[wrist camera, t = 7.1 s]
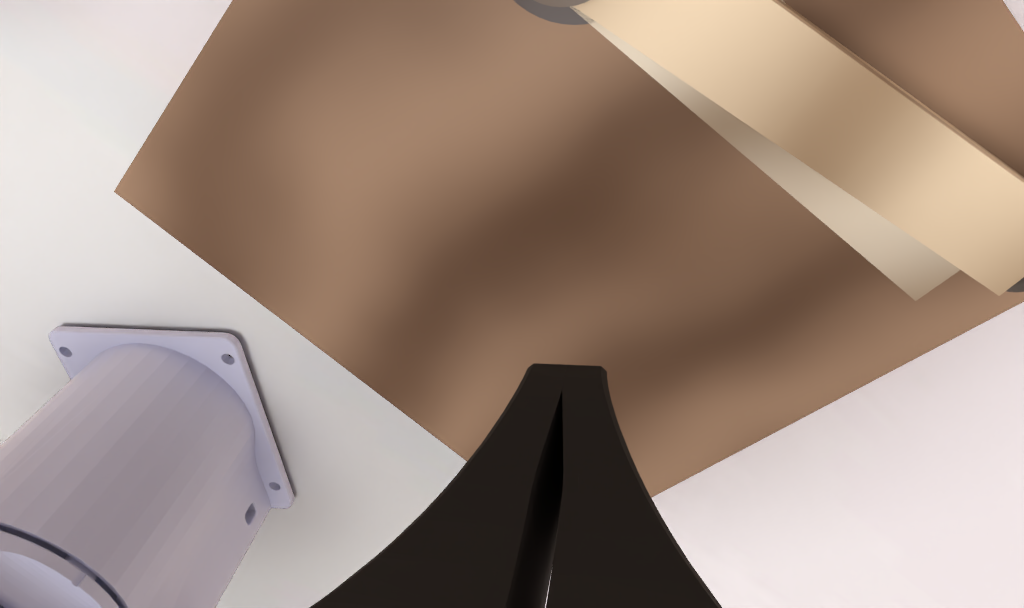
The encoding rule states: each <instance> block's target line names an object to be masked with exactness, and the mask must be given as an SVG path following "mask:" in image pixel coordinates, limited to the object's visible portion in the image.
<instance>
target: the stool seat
mask: <svg viewBox="0 0 1024 608" xmlns="http://www.w3.org/2000/svg"><path fill="white" fill-rule="evenodd" d="M782 1H783V2H784V3H786V4H787V5H788V6H790V7H791V8H793V9H794V10H795V11H797V12H798V13H799V14H801V15H802V16H803V17H805V18H806V19H808V20H809V21H810V22H812V23H813V24H814V25H816V26H817V27H819V28H820V29H821V30H823V31H824V32H825V33H827V34H828V35H830V36H831V37H832V38H834V39H835V40H836V41H838V42H839V43H841V44H842V45H843V46H845V47H846V48H847V49H849V50H850V51H852V52H853V53H854V54H856V55H857V56H858V57H860V58H861V59H862V60H864V61H865V62H867V63H868V64H869V65H871V66H872V67H873V68H875V69H876V70H878V71H879V72H880V73H882V74H883V75H884V76H886V77H887V78H889V79H890V80H891V81H893V82H894V83H895V84H897V85H898V86H900V87H901V88H902V89H904V90H905V91H906V92H908V93H909V94H911V95H912V96H913V97H915V98H916V99H917V100H919V101H920V102H921V103H923V104H924V105H926V106H927V107H928V108H930V109H931V110H932V111H934V112H935V113H937V114H938V115H939V116H941V117H942V118H943V119H945V120H946V121H948V122H949V123H950V124H952V125H953V126H954V127H956V128H957V129H959V130H960V131H961V132H963V133H964V134H965V135H967V136H968V137H970V138H971V139H972V140H974V141H975V142H976V143H978V144H979V145H981V146H982V147H983V148H985V149H986V150H987V151H989V152H990V153H991V154H993V155H994V156H996V157H997V158H998V159H1000V160H1001V161H1002V162H1004V163H1005V164H1007V165H1008V166H1009V167H1011V168H1012V169H1013V170H1015V171H1016V172H1018V173H1019V174H1020V175H1022V176H1023V177H1024V32H1023V30H1022V29H1021V27H1020V26H1019V24H1018V23H1017V21H1016V20H1015V18H1014V17H1013V15H1012V14H1011V12H1010V11H1009V9H1008V8H1007V6H1006V5H1005V3H1004V2H1003V0H782ZM114 192H115V193H116V194H118V195H119V196H120V197H122V198H123V199H124V200H126V201H127V202H128V203H130V204H131V205H132V206H134V207H135V208H136V209H137V210H139V211H140V212H141V213H143V214H144V215H145V216H147V217H148V218H149V219H151V220H152V221H153V222H154V223H156V224H157V225H158V226H160V227H161V228H162V229H164V230H165V231H166V232H168V233H169V234H170V235H171V236H173V237H174V238H175V239H177V240H178V241H179V242H181V243H182V244H183V245H185V246H186V247H187V248H188V249H190V250H191V251H192V252H194V253H195V254H196V255H198V256H199V257H200V258H202V259H203V260H204V261H206V262H207V263H208V264H209V265H211V266H212V267H213V268H215V269H216V270H217V271H219V272H220V273H221V274H223V275H224V276H225V277H226V278H228V279H229V280H230V281H232V282H233V283H234V284H236V285H237V286H238V287H240V288H241V289H242V290H243V291H245V292H246V293H247V294H249V295H250V296H251V297H253V298H254V299H255V300H257V301H258V302H259V303H260V304H262V305H263V306H264V307H266V308H267V309H268V310H270V311H271V312H272V313H274V314H275V315H276V316H278V317H279V318H280V319H281V320H283V321H284V322H285V323H287V324H288V325H289V326H291V327H292V328H293V329H295V330H296V331H297V332H298V333H300V334H301V335H302V336H304V337H305V338H306V339H308V340H309V341H310V342H312V343H313V344H314V345H315V346H317V347H318V348H319V349H321V350H322V351H323V352H325V353H326V354H327V355H329V356H330V357H331V358H332V359H334V360H335V361H336V362H338V363H339V364H340V365H342V366H343V367H344V368H346V369H347V370H348V371H350V372H351V373H352V374H353V375H355V376H356V377H357V378H359V379H360V380H361V381H363V382H364V383H365V384H367V385H368V386H369V387H370V388H372V389H373V390H374V391H376V392H377V393H378V394H380V395H381V396H382V397H384V398H385V399H386V400H387V401H389V402H390V403H391V404H393V405H394V406H395V407H397V408H398V409H399V410H401V411H402V412H403V413H404V414H406V415H407V416H408V417H410V418H411V419H412V420H414V421H415V422H416V423H418V424H419V425H420V426H422V427H423V428H424V429H425V430H427V431H428V432H429V433H431V434H432V435H433V436H435V437H436V438H437V439H439V440H440V441H441V442H442V443H444V444H445V445H446V446H448V447H449V448H450V449H452V450H453V451H454V452H456V453H457V454H458V455H459V456H461V457H462V458H463V459H465V460H466V461H468V460H469V459H470V458H471V456H472V455H473V454H474V452H475V451H476V450H477V449H478V447H479V446H480V445H481V443H482V442H483V441H484V439H485V438H486V436H487V435H488V433H489V432H490V430H491V429H492V428H493V426H494V425H495V423H496V422H497V420H498V419H499V417H500V416H501V414H502V413H503V411H504V410H505V408H506V406H507V405H508V403H509V402H510V400H511V398H512V397H513V395H514V393H515V392H516V390H517V388H518V386H519V384H520V382H521V381H522V379H523V377H524V375H525V373H526V370H527V368H528V367H530V366H531V365H532V364H533V363H539V364H564V365H589V366H602V367H603V368H604V369H605V370H606V371H607V381H608V388H609V393H610V397H611V401H612V404H613V408H614V411H615V414H616V418H617V421H618V424H619V426H620V429H621V432H622V434H623V437H624V439H625V442H626V444H627V447H628V450H629V452H630V455H631V457H632V459H633V461H634V464H635V466H636V468H637V470H638V472H639V474H640V477H641V479H642V481H643V483H644V485H645V487H646V489H647V491H648V493H649V495H650V497H653V496H655V495H657V494H659V493H661V492H663V491H665V490H666V489H668V488H670V487H672V486H674V485H676V484H678V483H680V482H682V481H684V480H685V479H687V478H689V477H691V476H693V475H695V474H697V473H699V472H701V471H703V470H704V469H706V468H708V467H710V466H712V465H714V464H716V463H718V462H720V461H722V460H723V459H725V458H727V457H729V456H731V455H733V454H735V453H737V452H739V451H741V450H742V449H744V448H746V447H748V446H750V445H752V444H754V443H756V442H758V441H760V440H761V439H763V438H765V437H767V436H769V435H771V434H773V433H775V432H777V431H779V430H780V429H782V428H784V427H786V426H788V425H790V424H792V423H794V422H796V421H798V420H799V419H801V418H803V417H805V416H807V415H809V414H811V413H813V412H815V411H817V410H818V409H820V408H822V407H824V406H826V405H828V404H830V403H832V402H834V401H836V400H838V399H839V398H841V397H843V396H845V395H847V394H849V393H851V392H853V391H855V390H857V389H858V388H860V387H862V386H864V385H866V384H868V383H870V382H872V381H874V380H876V379H877V378H879V377H881V376H883V375H885V374H887V373H889V372H891V371H893V370H895V369H896V368H898V367H900V366H902V365H904V364H906V363H908V362H910V361H912V360H914V359H915V358H917V357H919V356H921V355H923V354H925V353H927V352H929V351H931V350H933V349H934V348H936V347H938V346H940V345H942V344H944V343H946V342H948V341H950V340H952V339H953V338H955V337H957V336H959V335H961V334H963V333H965V332H967V331H969V330H971V329H972V328H974V327H976V326H978V325H980V324H982V323H984V322H986V321H988V320H990V319H991V318H993V317H995V316H997V315H999V314H1001V313H1003V312H1005V311H1007V310H1009V309H1010V308H1012V307H1014V306H1016V305H1018V304H1020V303H1022V302H1024V292H1007V291H1005V292H1004V293H1003V294H1001V295H1000V296H998V295H997V294H995V293H994V292H993V291H991V290H990V289H988V288H987V287H985V286H984V285H982V284H981V283H979V282H978V281H976V280H975V279H973V278H972V277H970V276H969V275H968V274H966V273H965V272H963V271H962V270H960V269H959V268H957V267H956V266H954V265H953V264H951V263H950V262H948V261H947V260H945V259H944V258H943V257H941V256H940V255H938V254H937V253H935V252H934V251H932V250H931V249H929V248H928V247H926V246H925V245H923V244H922V243H920V242H919V241H918V240H916V239H915V238H913V237H912V236H910V235H909V234H907V233H906V232H904V231H903V230H901V229H900V228H898V227H897V226H896V225H894V224H893V223H891V222H890V221H888V220H887V219H885V218H884V217H882V216H881V215H879V214H878V213H876V212H875V211H873V210H872V209H871V208H869V207H868V206H866V205H865V204H863V203H862V202H860V201H859V200H857V199H856V198H854V197H853V196H851V195H850V194H848V193H847V192H846V191H844V190H843V189H841V188H840V187H838V186H837V185H835V184H834V183H832V182H831V181H829V180H828V179H826V178H825V177H823V176H822V175H821V174H819V173H818V172H816V171H815V170H813V169H812V168H810V167H809V166H807V165H806V164H804V163H803V162H801V161H800V160H799V159H797V158H796V157H794V156H793V155H791V154H790V153H788V152H787V151H785V150H784V149H782V148H781V147H779V146H778V145H776V144H775V143H774V142H772V141H771V140H769V139H768V138H766V137H765V136H763V135H762V134H760V133H759V132H757V131H756V130H754V129H753V128H751V127H750V126H749V125H747V124H746V123H744V122H743V121H741V120H740V119H738V118H737V117H735V116H734V115H732V114H731V113H729V112H728V111H726V110H725V109H724V108H722V107H721V106H719V105H718V104H716V103H715V102H713V101H712V100H710V99H709V98H707V97H706V96H704V95H703V94H701V93H700V92H699V91H697V90H696V89H694V88H693V87H691V86H690V85H688V84H687V83H685V82H684V81H682V80H681V79H679V78H678V77H677V76H675V75H674V74H672V73H671V72H669V71H668V70H666V69H665V68H663V67H662V66H660V65H659V64H657V63H656V62H654V61H653V60H652V59H650V58H649V57H647V56H646V55H644V54H643V53H641V52H640V51H638V50H637V49H635V48H634V47H632V46H631V45H629V44H628V43H627V42H625V41H624V40H622V39H621V38H619V37H618V36H616V35H615V34H613V33H612V32H610V31H609V30H607V29H606V28H604V27H603V26H602V25H600V24H599V23H597V22H596V21H594V20H593V19H591V18H590V17H588V16H587V15H585V14H584V13H582V12H581V11H579V10H578V9H577V8H575V7H574V6H570V7H553V6H548V5H544V4H541V3H538V2H536V1H534V0H233V1H232V2H231V4H230V5H229V7H228V9H227V10H226V12H225V14H224V15H223V17H222V18H221V20H220V22H219V23H218V25H217V26H216V28H215V30H214V31H213V33H212V34H211V36H210V38H209V39H208V41H207V43H206V44H205V46H204V47H203V49H202V51H201V52H200V54H199V55H198V57H197V59H196V60H195V62H194V63H193V65H192V67H191V68H190V70H189V72H188V73H187V75H186V76H185V78H184V80H183V81H182V83H181V84H180V86H179V88H178V89H177V91H176V93H175V94H174V96H173V97H172V99H171V101H170V102H169V104H168V105H167V107H166V109H165V110H164V112H163V113H162V115H161V117H160V118H159V120H158V122H157V123H156V125H155V126H154V128H153V130H152V131H151V133H150V134H149V136H148V138H147V139H146V141H145V142H144V144H143V146H142V147H141V149H140V151H139V152H138V154H137V155H136V157H135V159H134V160H133V162H132V163H131V165H130V167H129V168H128V170H127V171H126V173H125V175H124V176H123V178H122V180H121V181H120V183H119V184H118V186H117V188H116V189H115V191H114Z"/></svg>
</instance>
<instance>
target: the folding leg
mask: <svg viewBox="0 0 1024 608" xmlns="http://www.w3.org/2000/svg"><path fill="white" fill-rule="evenodd" d="M534 1H536V2H538V3H541V4H544V5H548V6H553V7H570V6H574V7H575V8H577V9H578V10H579V11H581V12H582V13H584V14H585V15H587V16H588V17H590V18H591V19H593V20H594V21H596V22H597V23H599V24H600V25H602V26H603V27H604V28H606V29H607V30H609V31H610V32H612V33H613V34H615V35H616V36H618V37H619V38H621V39H622V40H624V41H625V42H627V43H628V44H629V45H631V46H632V47H634V48H635V49H637V50H638V51H640V52H641V53H643V54H644V55H646V56H647V57H649V58H650V59H652V60H653V61H654V62H656V63H657V64H659V65H660V66H662V67H663V68H665V69H666V70H668V71H669V72H671V73H672V74H674V75H675V76H677V77H678V78H679V79H681V80H682V81H684V82H685V83H687V84H688V85H690V86H691V87H693V88H694V89H696V90H697V91H699V92H700V93H701V94H703V95H704V96H706V97H707V98H709V99H710V100H712V101H713V102H715V103H716V104H718V105H719V106H721V107H722V108H724V109H725V110H726V111H728V112H729V113H731V114H732V115H734V116H735V117H737V118H738V119H740V120H741V121H743V122H744V123H746V124H747V125H749V126H750V127H751V128H753V129H754V130H756V131H757V132H759V133H760V134H762V135H763V136H765V137H766V138H768V139H769V140H771V141H772V142H774V143H775V144H776V145H778V146H779V147H781V148H782V149H784V150H785V151H787V152H788V153H790V154H791V155H793V156H794V157H796V158H797V159H799V160H800V161H801V162H803V163H804V164H806V165H807V166H809V167H810V168H812V169H813V170H815V171H816V172H818V173H819V174H821V175H822V176H823V177H825V178H826V179H828V180H829V181H831V182H832V183H834V184H835V185H837V186H838V187H840V188H841V189H843V190H844V191H846V192H847V193H848V194H850V195H851V196H853V197H854V198H856V199H857V200H859V201H860V202H862V203H863V204H865V205H866V206H868V207H869V208H871V209H872V210H873V211H875V212H876V213H878V214H879V215H881V216H882V217H884V218H885V219H887V220H888V221H890V222H891V223H893V224H894V225H896V226H897V227H898V228H900V229H901V230H903V231H904V232H906V233H907V234H909V235H910V236H912V237H913V238H915V239H916V240H918V241H919V242H920V243H922V244H923V245H925V246H926V247H928V248H929V249H931V250H932V251H934V252H935V253H937V254H938V255H940V256H941V257H943V258H944V259H945V260H947V261H948V262H950V263H951V264H953V265H954V266H956V267H957V268H959V269H960V270H962V271H963V272H965V273H966V274H968V275H969V276H970V277H972V278H973V279H975V280H976V281H978V282H979V283H981V284H982V285H984V286H985V287H987V288H988V289H990V290H991V291H993V292H994V293H995V294H997V295H998V296H1000V295H1001V294H1003V293H1004V292H1005V291H1007V292H1024V177H1023V176H1022V175H1020V174H1019V173H1018V172H1016V171H1015V170H1013V169H1012V168H1011V167H1009V166H1008V165H1007V164H1005V163H1004V162H1002V161H1001V160H1000V159H998V158H997V157H996V156H994V155H993V154H991V153H990V152H989V151H987V150H986V149H985V148H983V147H982V146H981V145H979V144H978V143H976V142H975V141H974V140H972V139H971V138H970V137H968V136H967V135H965V134H964V133H963V132H961V131H960V130H959V129H957V128H956V127H954V126H953V125H952V124H950V123H949V122H948V121H946V120H945V119H943V118H942V117H941V116H939V115H938V114H937V113H935V112H934V111H932V110H931V109H930V108H928V107H927V106H926V105H924V104H923V103H921V102H920V101H919V100H917V99H916V98H915V97H913V96H912V95H911V94H909V93H908V92H906V91H905V90H904V89H902V88H901V87H900V86H898V85H897V84H895V83H894V82H893V81H891V80H890V79H889V78H887V77H886V76H884V75H883V74H882V73H880V72H879V71H878V70H876V69H875V68H873V67H872V66H871V65H869V64H868V63H867V62H865V61H864V60H862V59H861V58H860V57H858V56H857V55H856V54H854V53H853V52H852V51H850V50H849V49H847V48H846V47H845V46H843V45H842V44H841V43H839V42H838V41H836V40H835V39H834V38H832V37H831V36H830V35H828V34H827V33H825V32H824V31H823V30H821V29H820V28H819V27H817V26H816V25H814V24H813V23H812V22H810V21H809V20H808V19H806V18H805V17H803V16H802V15H801V14H799V13H798V12H797V11H795V10H794V9H793V8H791V7H790V6H788V5H787V4H786V3H784V2H783V1H782V0H534Z"/></svg>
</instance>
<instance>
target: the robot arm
mask: <svg viewBox="0 0 1024 608" xmlns="http://www.w3.org/2000/svg"><path fill="white" fill-rule="evenodd" d="M49 339H50V342H51V344H52V346H53V348H54V349H55V351H56V353H57V355H58V357H59V359H60V361H61V362H62V364H63V366H64V368H65V370H66V372H67V374H68V375H69V377H70V379H71V380H70V381H69V382H68V383H67V384H66V385H65V386H64V387H63V388H62V389H61V390H60V391H59V392H58V393H56V394H55V395H54V396H53V397H52V398H51V399H50V400H49V401H48V402H47V403H46V404H45V405H44V406H43V407H41V408H40V409H39V410H38V411H37V412H36V413H35V414H34V415H33V416H32V417H31V418H30V419H29V420H27V421H26V422H25V423H24V424H23V425H22V426H21V427H20V428H19V429H18V430H17V431H16V432H15V433H14V434H12V435H11V436H10V437H9V438H8V439H7V440H6V441H5V442H4V443H3V444H2V445H1V446H0V608H215V607H216V605H217V604H218V602H219V600H220V598H221V596H222V595H223V593H224V591H225V589H226V587H227V586H228V584H229V582H230V580H231V578H232V577H233V575H234V573H235V571H236V569H237V568H238V566H239V564H240V562H241V560H242V559H243V557H244V555H245V553H246V551H247V550H248V548H249V546H250V544H251V542H252V541H253V539H254V537H255V535H256V533H257V532H258V530H259V528H260V526H261V525H262V523H263V521H264V519H265V517H266V516H267V514H268V512H269V510H270V508H282V509H284V508H289V507H290V506H291V505H292V503H293V501H294V494H293V492H292V489H291V486H290V483H289V480H288V477H287V474H286V472H285V469H284V466H283V463H282V460H281V457H280V454H279V452H278V449H277V446H276V443H275V440H274V437H273V434H272V432H271V429H270V426H269V423H268V420H267V417H266V414H265V412H264V409H263V406H262V403H261V400H260V397H259V394H258V392H257V389H256V386H255V383H254V380H253V377H252V374H251V372H250V369H249V366H248V363H247V360H246V357H245V354H244V352H243V349H242V346H241V343H240V342H239V340H238V339H237V338H236V337H235V336H234V335H232V334H229V333H223V332H197V331H171V330H145V329H119V328H93V327H67V326H59V327H56V328H55V329H54V330H53V331H51V332H50V333H49ZM228 354H229V355H231V356H232V357H233V358H231V357H230V356H229V355H228ZM552 565H553V566H552ZM551 570H552V573H551ZM550 576H551V579H550ZM549 581H550V586H549ZM548 587H549V592H548ZM547 592H548V599H547V605H546V608H722V607H721V605H720V604H719V603H718V601H717V600H716V598H715V597H714V596H713V594H712V593H711V592H710V590H709V589H708V587H707V586H706V585H705V583H704V582H703V580H702V579H701V578H700V576H699V575H698V573H697V572H696V571H695V569H694V568H693V567H692V565H691V564H690V562H689V561H688V559H687V558H686V556H685V555H684V553H683V551H682V550H681V548H680V547H679V545H678V544H677V542H676V540H675V539H674V537H673V536H672V534H671V532H670V531H669V529H668V527H667V525H666V524H665V522H664V520H663V519H662V517H661V515H660V513H659V512H658V510H657V508H656V506H655V504H654V502H653V501H652V499H651V497H650V495H649V493H648V491H647V489H646V487H645V485H644V483H643V481H642V479H641V477H640V474H639V472H638V470H637V468H636V466H635V464H634V461H633V459H632V457H631V455H630V452H629V450H628V447H627V444H626V442H625V439H624V437H623V434H622V432H621V429H620V426H619V424H618V421H617V418H616V414H615V411H614V408H613V404H612V401H611V397H610V393H609V388H608V381H607V371H606V370H605V369H604V368H603V367H602V366H589V365H564V364H539V363H533V364H532V365H531V366H530V367H528V368H527V370H526V373H525V375H524V377H523V379H522V381H521V382H520V384H519V386H518V388H517V390H516V392H515V393H514V395H513V397H512V398H511V400H510V402H509V403H508V405H507V406H506V408H505V410H504V411H503V413H502V414H501V416H500V417H499V419H498V420H497V422H496V423H495V425H494V426H493V428H492V429H491V430H490V432H489V433H488V435H487V436H486V438H485V439H484V441H483V442H482V443H481V445H480V446H479V447H478V449H477V450H476V451H475V452H474V454H473V455H472V456H471V458H470V459H469V460H468V461H467V463H466V464H465V465H464V466H463V468H462V469H461V470H460V472H459V473H458V474H457V475H456V476H455V478H454V479H453V480H452V481H451V482H450V483H449V485H448V486H447V487H446V488H445V489H444V490H443V491H442V493H441V494H440V495H439V496H438V497H437V498H436V499H435V500H434V501H433V502H432V503H431V504H430V505H429V507H428V508H427V509H426V510H425V511H424V512H423V513H422V514H421V515H420V516H419V517H418V518H417V519H416V520H415V521H414V522H413V523H412V524H411V525H409V526H408V527H407V528H406V529H405V530H404V531H403V532H402V533H401V534H400V535H399V536H398V537H397V538H396V539H395V540H394V541H393V542H392V543H390V544H389V545H388V546H387V547H386V548H385V549H384V550H383V551H381V552H380V553H379V554H378V555H377V556H376V557H374V558H373V559H372V560H371V561H370V562H368V563H367V564H366V565H365V566H363V567H362V568H361V569H360V570H358V571H357V572H356V573H355V574H353V575H352V576H351V577H350V578H348V579H347V580H346V581H345V582H343V583H342V584H341V585H340V586H338V587H337V588H336V589H335V590H333V591H332V592H331V593H329V594H328V595H327V596H325V597H324V598H323V599H321V600H320V601H318V602H317V603H315V604H314V605H313V606H311V607H310V608H545V603H546V597H547Z"/></svg>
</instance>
